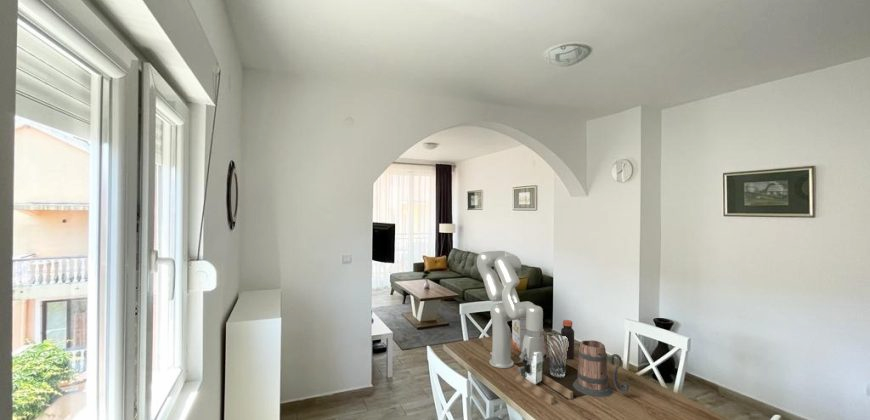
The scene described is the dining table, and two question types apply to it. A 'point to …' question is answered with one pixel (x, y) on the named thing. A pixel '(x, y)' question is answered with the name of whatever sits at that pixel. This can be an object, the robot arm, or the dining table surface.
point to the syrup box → (535, 368)
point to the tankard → (596, 370)
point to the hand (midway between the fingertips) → (533, 370)
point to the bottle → (569, 334)
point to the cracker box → (518, 332)
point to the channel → (540, 392)
